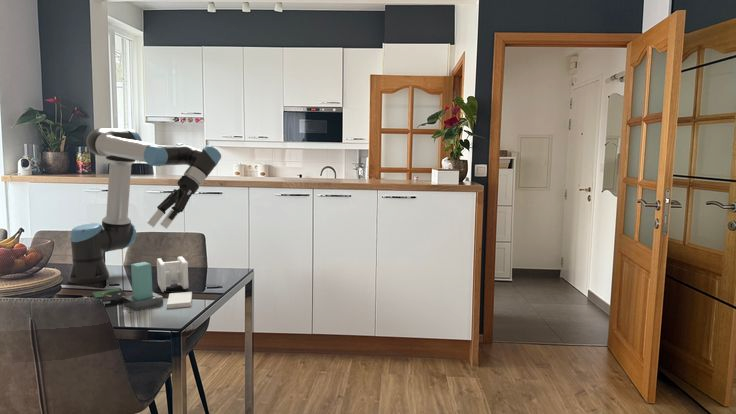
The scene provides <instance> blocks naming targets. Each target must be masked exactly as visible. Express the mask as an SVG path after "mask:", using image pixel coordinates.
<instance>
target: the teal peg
mask: <svg viewBox="0 0 736 414" xmlns="http://www.w3.org/2000/svg"><path fill="white" fill-rule="evenodd" d="M130 268H131V269H130V271H131V272H130V273H131V287H132V289H131V291H132V295H133V298H134V299H136V300H142V299H147V298H151V297H153V293H154V291H153V277H152V276H153V275H152V274H153V273H152V264H151V263H150V262H147V261H141V262H135V263H131V264H130Z"/></svg>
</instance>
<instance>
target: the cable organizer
mask: <svg viewBox="0 0 736 414" xmlns="http://www.w3.org/2000/svg"><path fill="white" fill-rule="evenodd" d="M188 268H189V262H188V261H187V260H186V259H185V258H184V257H183V256H182V255H181V256H180V255H179V256H177V259H176V260H175V261H163V259H162V257H160V258H157V259H156V273H157V285H158V287H159V289H160V292H161V293H165V292H166V291H167V288H169V287H170V288H171V286H172V285H177V286H181V288H182V289H183V290H187V289H189V270H188ZM164 291H165V292H164Z"/></svg>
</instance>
